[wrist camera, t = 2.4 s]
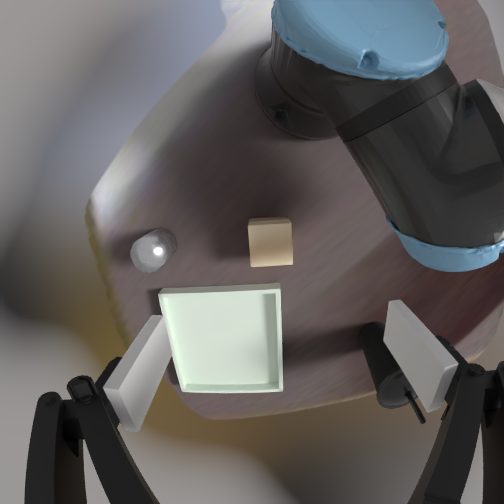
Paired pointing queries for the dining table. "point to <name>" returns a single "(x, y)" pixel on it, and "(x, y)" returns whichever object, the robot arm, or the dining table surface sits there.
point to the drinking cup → (387, 371)
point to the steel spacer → (153, 250)
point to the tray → (225, 337)
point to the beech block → (270, 241)
